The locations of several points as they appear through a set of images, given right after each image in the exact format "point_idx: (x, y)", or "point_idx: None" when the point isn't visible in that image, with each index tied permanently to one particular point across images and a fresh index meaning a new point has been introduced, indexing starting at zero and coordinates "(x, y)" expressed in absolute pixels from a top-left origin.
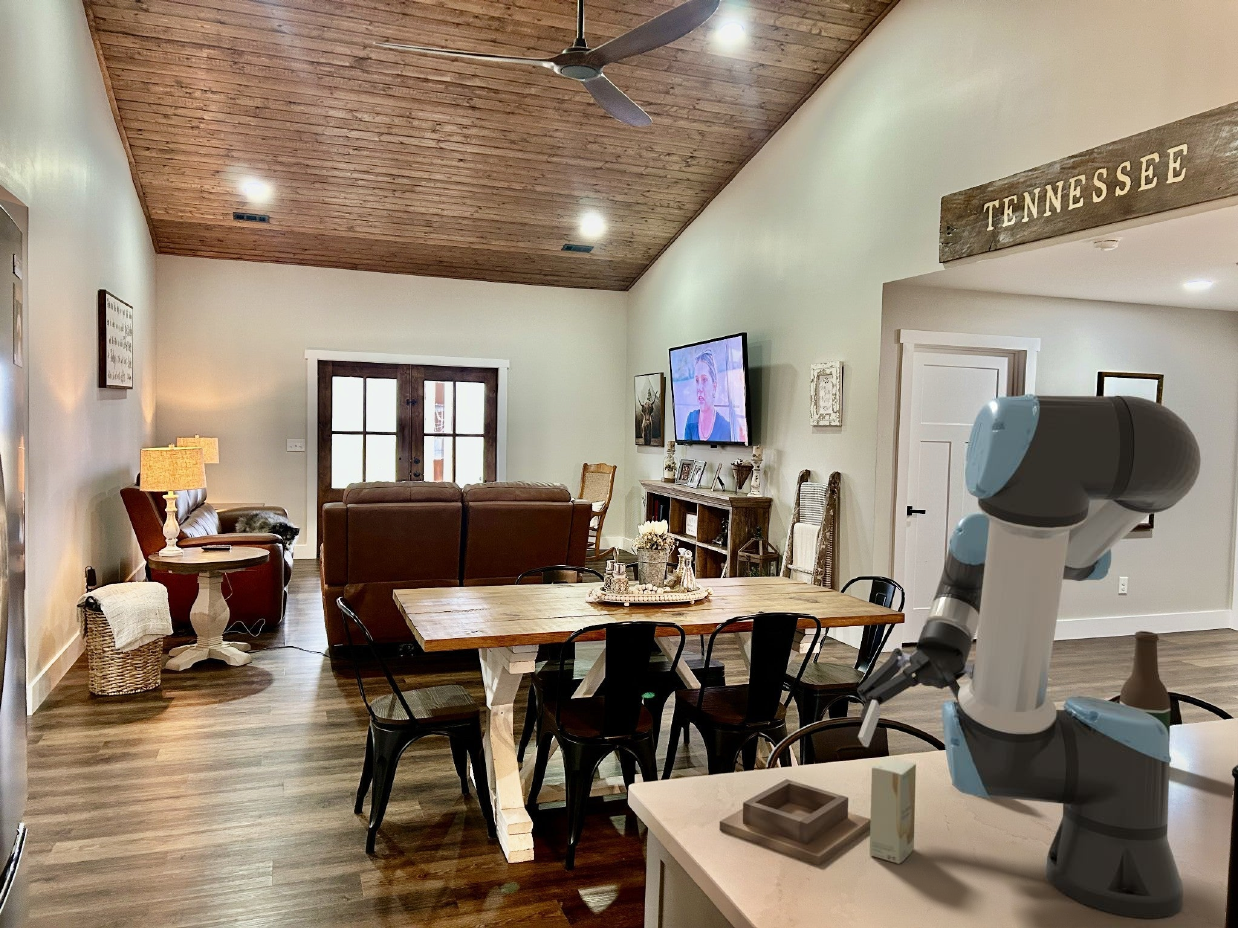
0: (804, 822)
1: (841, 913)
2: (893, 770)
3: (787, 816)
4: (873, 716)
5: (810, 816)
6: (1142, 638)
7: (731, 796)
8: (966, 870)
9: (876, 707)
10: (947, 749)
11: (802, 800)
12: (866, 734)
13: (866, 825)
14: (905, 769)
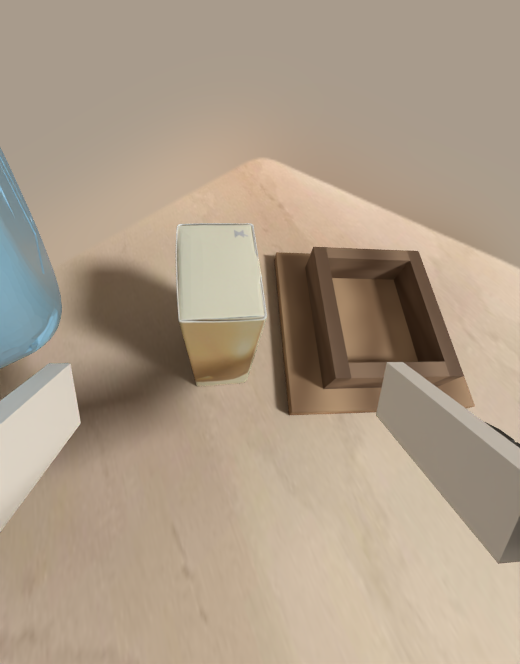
0: (318, 248)
1: (201, 195)
2: (202, 231)
3: (347, 250)
4: (450, 442)
5: (326, 268)
6: None
7: (497, 359)
8: (101, 374)
9: (495, 481)
10: (22, 221)
11: None
12: (396, 391)
13: (289, 394)
14: (183, 260)
